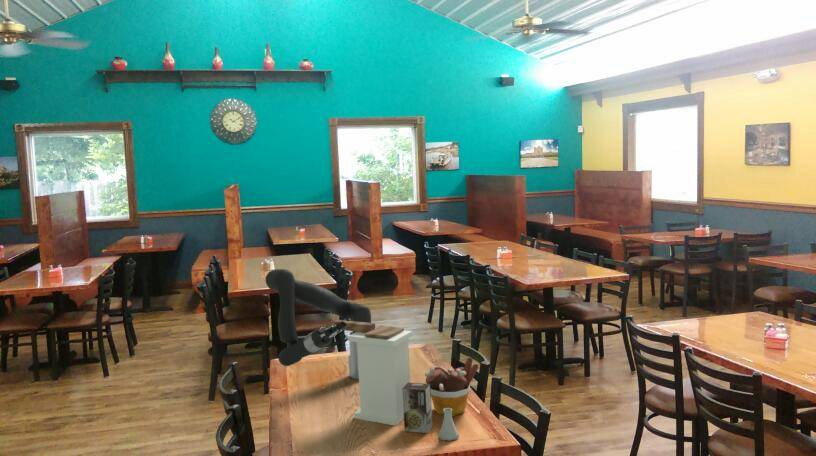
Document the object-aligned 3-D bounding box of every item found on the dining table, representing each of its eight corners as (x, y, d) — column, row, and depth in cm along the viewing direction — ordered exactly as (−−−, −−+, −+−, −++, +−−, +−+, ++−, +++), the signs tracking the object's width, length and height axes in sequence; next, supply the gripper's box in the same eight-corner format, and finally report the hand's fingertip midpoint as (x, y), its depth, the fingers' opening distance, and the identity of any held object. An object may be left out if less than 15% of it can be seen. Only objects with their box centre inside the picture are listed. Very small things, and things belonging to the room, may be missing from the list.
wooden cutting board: (327, 332, 252) (326, 324, 251) (344, 324, 262) (344, 316, 262) (388, 338, 239) (387, 330, 238) (403, 330, 249) (403, 322, 249)
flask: (437, 433, 232) (436, 406, 231) (457, 432, 233) (456, 404, 232) (439, 442, 225) (438, 414, 224) (460, 440, 226) (459, 412, 225)
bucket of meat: (433, 422, 242) (431, 370, 240) (420, 406, 258) (418, 357, 256) (483, 414, 247) (482, 363, 245) (468, 399, 263) (466, 351, 261)
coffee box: (433, 426, 239) (431, 383, 237) (427, 433, 233) (426, 389, 231) (409, 424, 242) (407, 381, 240) (403, 431, 236) (401, 387, 234)
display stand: (352, 417, 250) (347, 335, 246) (371, 404, 262) (367, 326, 258) (397, 426, 240) (393, 341, 236) (415, 412, 252) (412, 331, 249)
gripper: (332, 343, 268) (361, 325, 259) (311, 353, 255) (341, 335, 247) (323, 327, 269) (353, 309, 260) (302, 336, 256) (332, 317, 248)
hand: (347, 322), depth 254 cm, fingers closed on wooden cutting board, 3 cm apart
